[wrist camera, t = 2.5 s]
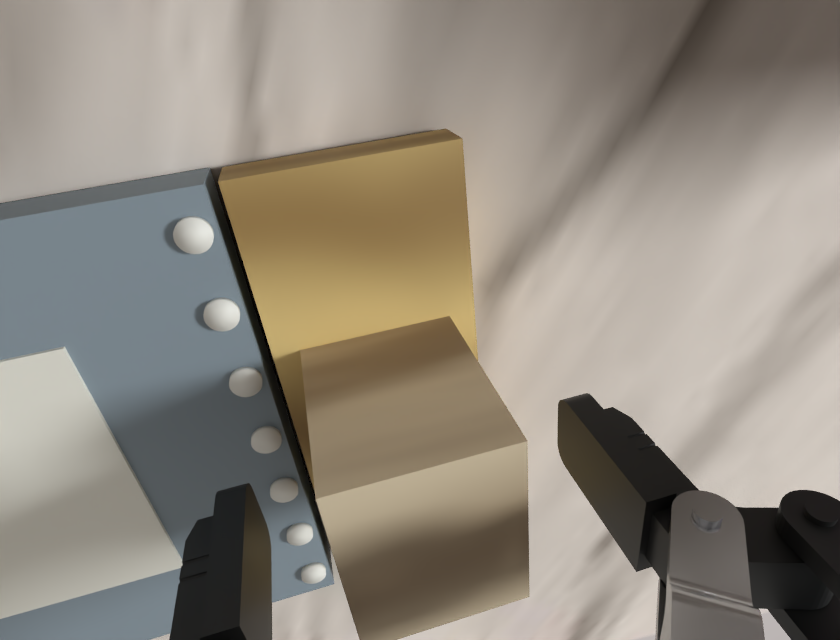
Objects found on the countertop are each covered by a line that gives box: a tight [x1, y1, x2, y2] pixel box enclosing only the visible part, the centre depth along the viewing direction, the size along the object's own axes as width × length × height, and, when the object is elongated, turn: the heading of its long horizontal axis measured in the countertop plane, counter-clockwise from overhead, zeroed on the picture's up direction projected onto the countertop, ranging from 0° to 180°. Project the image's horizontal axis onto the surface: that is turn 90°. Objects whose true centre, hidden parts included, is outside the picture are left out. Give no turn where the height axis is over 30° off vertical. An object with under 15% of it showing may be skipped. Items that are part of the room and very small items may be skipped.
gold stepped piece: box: [218, 129, 529, 640], centre depth 14 cm, size 14×5×6 cm, turn 7°
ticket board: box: [0, 168, 334, 640], centre depth 14 cm, size 14×12×2 cm
